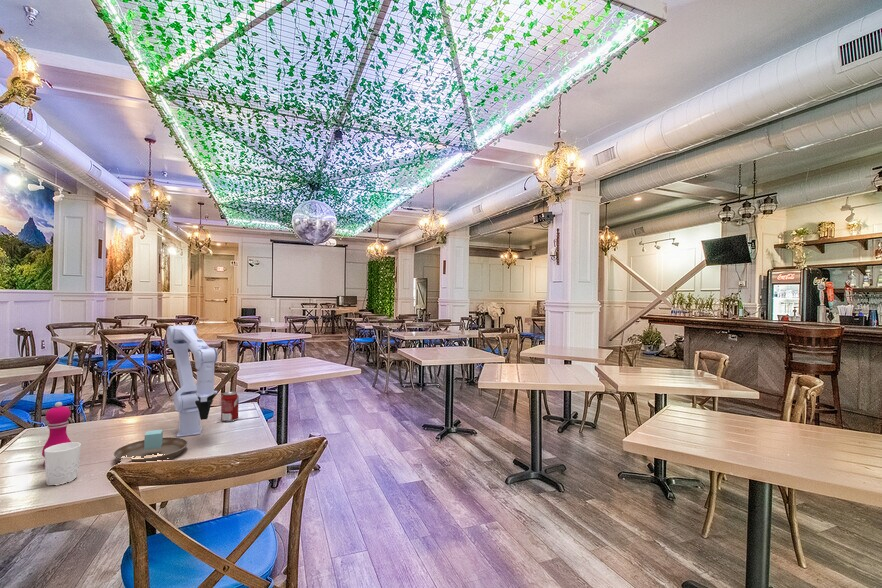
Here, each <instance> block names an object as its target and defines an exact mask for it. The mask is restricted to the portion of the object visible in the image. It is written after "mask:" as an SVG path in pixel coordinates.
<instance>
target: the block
mask: <svg viewBox="0 0 882 588" xmlns="http://www.w3.org/2000/svg"><path fill="white" fill-rule="evenodd" d="M163 431H164V430H163V429H154V430H147V431H146V432H145V434H144V450H149V449H157V448H161V446H162V444H163V438H164V437H163V435H164V433H163Z"/></svg>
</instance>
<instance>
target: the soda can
mask: <svg viewBox="0 0 882 588" xmlns="http://www.w3.org/2000/svg"><path fill="white" fill-rule="evenodd" d="M220 401H221V402H220V405H221V406H220V408H221V409H220V420H221V421H222V422H224V421H226V422H225V423H229V422H228V421H232V422H234V421H233V420H235V421H236V420H238V419H239V402H240V400H239V394H238V392H237V391H227V392H223V393H222V396H221V399H220Z"/></svg>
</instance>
